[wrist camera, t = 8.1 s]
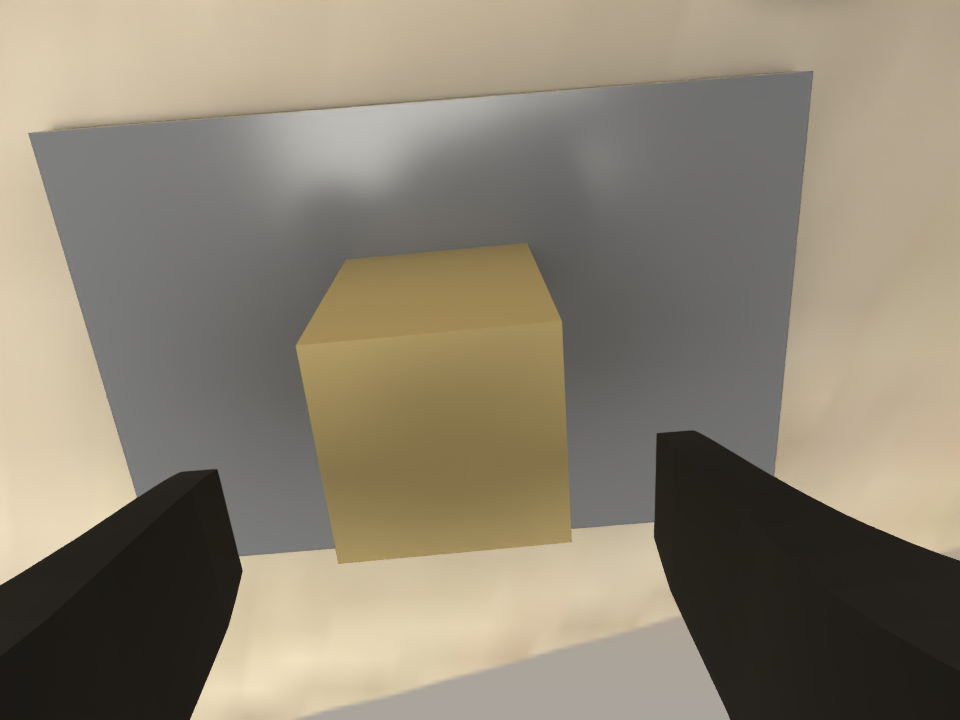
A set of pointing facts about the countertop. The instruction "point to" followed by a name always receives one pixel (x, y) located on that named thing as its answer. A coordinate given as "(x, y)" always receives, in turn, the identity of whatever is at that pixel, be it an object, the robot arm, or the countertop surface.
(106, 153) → the slate board
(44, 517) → the countertop surface
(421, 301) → the ochre block
